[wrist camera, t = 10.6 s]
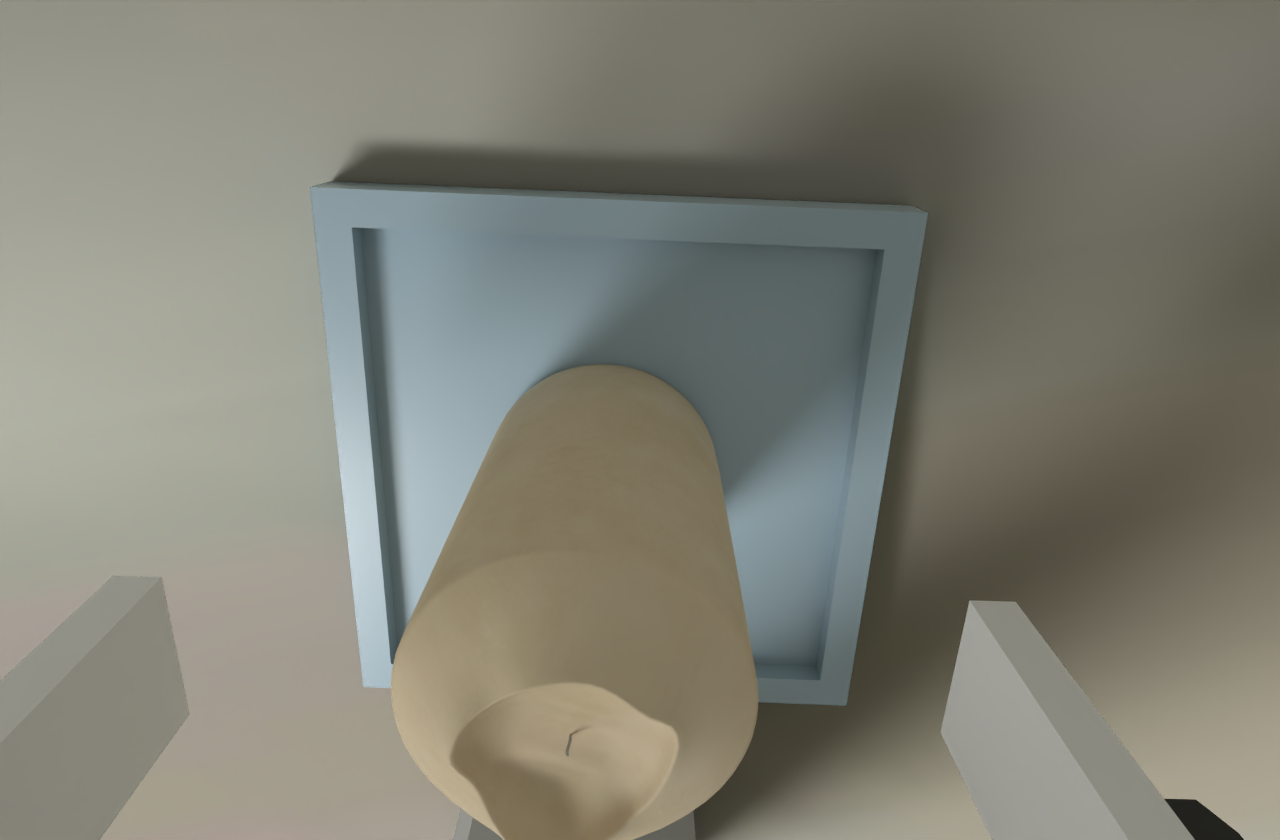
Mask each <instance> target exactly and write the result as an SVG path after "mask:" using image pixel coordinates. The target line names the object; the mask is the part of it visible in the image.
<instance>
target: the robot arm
mask: <svg viewBox="0 0 1280 840" xmlns="http://www.w3.org/2000/svg"><path fill="white" fill-rule="evenodd" d="M188 715H189V709H188V704H187V699H186V694H185V690H184V685H183V680H182V675H181V670H180V665H179V660H178V655H177V650H176V645H175V640H174V636H173V631H172V626H171V621H170V616H169V611H168V606H167V601H166V596H165V591H164V586H163V582H162V577H137V576H113V577H112V578H110V579H109V580H108V581H107V582H106V583H105V584H104V585H103V586H102V587H101V588H100V589H99V590H98V591H97V592H95V593H94V594H93V595H92V596H91V597H90V598H89V599H88V600H87V601H86V602H85V603H84V604H83V605H81V606H80V607H79V608H78V609H77V610H76V611H75V612H74V613H73V614H72V615H71V616H70V617H69V618H68V619H66V620H65V621H64V622H63V623H62V624H61V625H60V626H59V627H58V628H57V629H56V630H55V631H54V632H52V633H51V634H50V635H49V636H48V637H47V638H46V639H45V640H44V641H43V642H42V643H41V644H40V645H39V646H37V647H36V648H35V649H34V650H33V651H32V652H31V653H30V654H29V655H28V656H27V657H26V658H25V659H23V660H22V661H21V662H20V663H19V664H18V665H17V666H16V667H15V668H14V669H13V670H12V671H11V672H9V673H8V674H7V675H6V676H5V677H4V678H3V679H2V680H1V681H0V840H100V839H101V837H102V836H103V834H104V833H105V832H106V830H107V829H108V827H109V826H110V825H111V823H112V822H113V820H114V819H115V818H116V816H117V815H118V813H119V812H120V811H121V809H122V808H123V806H124V805H125V804H126V802H127V801H128V799H129V798H130V797H131V795H132V794H133V792H134V791H135V790H136V788H137V787H138V785H139V784H140V783H141V781H142V780H143V778H144V777H145V775H146V774H147V773H148V771H149V770H150V768H151V767H152V766H153V764H154V763H155V761H156V760H157V759H158V757H159V756H160V754H161V753H162V752H163V750H164V749H165V747H166V746H167V745H168V743H169V742H170V740H171V739H172V738H173V736H174V735H175V733H176V732H177V731H178V729H179V728H180V726H181V725H182V724H183V722H184V721H185V719H186V718H187V717H188ZM940 733H941V735H942V737H943V739H944V741H945V743H946V745H947V747H948V749H949V751H950V754H951V756H952V758H953V760H954V762H955V764H956V766H957V768H958V770H959V772H960V774H961V776H962V778H963V781H964V783H965V785H966V787H967V789H968V791H969V793H970V795H971V797H972V799H973V801H974V803H975V806H976V808H977V810H978V812H979V814H980V816H981V818H982V820H983V822H984V824H985V826H986V828H987V830H988V833H989V835H990V837H991V839H992V840H1244V839H1243V838H1242V837H1241V836H1240V834H1239V833H1238V832H1236V831H1235V830H1234V829H1233V828H1231V827H1230V826H1229V825H1227V824H1226V823H1225V822H1224V821H1222V820H1221V819H1220V818H1219V817H1217V816H1216V815H1215V814H1213V813H1212V812H1211V811H1210V810H1208V809H1207V808H1206V807H1205V806H1203V805H1202V804H1201V803H1199V802H1198V801H1197V800H1188V799H1164V798H1163V797H1162V796H1161V794H1160V793H1159V792H1158V790H1157V789H1156V788H1155V786H1154V785H1153V784H1152V782H1151V781H1150V780H1149V778H1148V777H1147V776H1146V774H1145V773H1144V772H1143V770H1142V769H1141V768H1140V766H1139V765H1138V764H1137V762H1136V761H1135V760H1134V758H1133V757H1132V756H1131V754H1130V753H1129V752H1128V750H1127V749H1126V748H1125V746H1124V745H1123V744H1122V742H1121V741H1120V740H1119V738H1118V737H1117V736H1116V734H1115V733H1114V732H1113V730H1112V729H1111V728H1110V726H1109V725H1108V724H1107V722H1106V721H1105V720H1104V718H1103V717H1102V716H1101V714H1100V713H1099V712H1098V710H1097V709H1096V708H1095V706H1094V705H1093V704H1092V703H1091V701H1090V700H1089V699H1088V697H1087V696H1086V695H1085V693H1084V692H1083V691H1082V689H1081V688H1080V687H1079V685H1078V684H1077V683H1076V681H1075V680H1074V679H1073V677H1072V676H1071V675H1070V673H1069V672H1068V671H1067V669H1066V668H1065V667H1064V665H1063V664H1062V663H1061V661H1060V660H1059V659H1058V657H1057V656H1056V655H1055V653H1054V652H1053V651H1052V649H1051V648H1050V647H1049V645H1048V644H1047V643H1046V641H1045V640H1044V639H1043V637H1042V636H1041V635H1040V633H1039V632H1038V631H1037V629H1036V628H1035V627H1034V625H1033V624H1032V623H1031V621H1030V620H1029V619H1028V617H1027V616H1026V615H1025V613H1024V612H1023V611H1022V609H1021V608H1020V607H1019V606H1018V604H1017V603H1016V602H1008V601H973V600H970V601H969V605H968V610H967V614H966V619H965V623H964V628H963V633H962V637H961V642H960V646H959V651H958V655H957V660H956V664H955V669H954V673H953V678H952V683H951V687H950V692H949V696H948V701H947V705H946V710H945V714H944V719H943V723H942V728H941V732H940Z"/></svg>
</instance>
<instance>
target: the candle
mask: <svg viewBox="0 0 1280 840" xmlns="http://www.w3.org/2000/svg"><path fill="white" fill-rule="evenodd" d="M391 699H392V708H393V713H394V717H395V720H396V724H397V728H398V731H399V733H400V735H401V737H402V740H403V742H404V744H405V746H406V748H407V750H408V751H409V753H410V755H411V756H412V758H413V759H414V761H415V763H416V764H417V765H418V767H419V768H420V769H421V770H422V772H423V773H424V774H425V775H426V776H427V778H428V779H429V780H430V781H431V782H432V783H433V784H434V785H435V786H436V787H437V788H438V789H439V790H440V791H442V792H443V793H444V794H445V795H446V796H447V797H448V798H449V799H450V800H451V801H452V802H454V803H455V804H456V805H457V806H459V807H460V808H461V809H463V810H464V811H465V812H467V813H468V814H469V815H471V816H472V817H473V818H475V819H476V820H478V821H479V822H480V823H482V824H483V825H485V826H486V827H488V828H489V829H491V830H492V831H494V832H495V833H496V834H498V835H499V836H500V837H501V838H502V839H503V840H633V839H636V838H639V837H641V836H644V835H646V834H649V833H651V832H654V831H656V830H659V829H661V828H664V827H665V826H667V825H669V824H671V823H673V822H675V821H677V820H679V819H680V818H682V817H684V816H686V815H687V814H689V813H690V812H692V811H693V810H695V809H696V808H697V807H699V806H700V805H702V804H703V803H705V802H706V801H707V800H708V799H709V798H711V797H712V796H713V795H714V794H715V793H716V792H717V791H718V790H719V789H721V788H722V786H723V785H724V784H725V783H726V782H727V780H728V779H729V778H730V777H731V776H732V775H733V773H734V772H735V770H736V769H737V767H738V766H739V764H740V762H741V761H742V759H743V758H744V756H745V754H746V751H747V749H748V747H749V744H750V742H751V740H752V737H753V733H754V729H755V725H756V721H757V713H758V702H759V699H758V685H757V677H756V671H755V665H754V660H753V654H752V649H751V643H750V637H749V632H748V626H747V621H746V615H745V610H744V604H743V599H742V593H741V588H740V582H739V577H738V571H737V565H736V560H735V554H734V549H733V543H732V538H731V532H730V527H729V521H728V516H727V510H726V505H725V499H724V494H723V488H722V482H721V477H720V471H719V467H718V463H717V458H716V454H715V450H714V445H713V442H712V439H711V437H710V434H709V432H708V429H707V427H706V426H705V424H704V422H703V420H702V419H701V417H700V416H699V414H698V413H697V411H696V410H695V409H694V407H693V406H692V405H691V403H690V402H689V401H688V400H687V399H686V398H685V397H684V396H683V395H682V394H681V393H680V392H678V391H677V390H676V389H675V388H673V387H672V386H671V385H669V384H668V383H666V382H664V381H663V380H661V379H659V378H658V377H656V376H654V375H651V374H649V373H647V372H644V371H642V370H638V369H635V368H631V367H627V366H621V365H614V364H591V365H582V366H578V367H574V368H569V369H566V370H563V371H561V372H558V373H555V374H553V375H551V376H549V377H548V378H546V379H544V380H542V381H540V382H539V383H538V384H536V385H535V386H533V387H532V388H531V389H529V390H528V391H527V392H526V393H525V394H524V395H523V396H522V397H521V398H520V399H519V400H517V401H516V403H515V404H514V405H513V406H512V408H511V409H510V410H509V411H508V413H507V414H506V416H505V418H504V419H503V421H502V423H501V424H500V426H499V428H498V430H497V432H496V434H495V436H494V438H493V440H492V442H491V444H490V446H489V449H488V451H487V453H486V455H485V457H484V459H483V462H482V464H481V466H480V468H479V470H478V472H477V475H476V477H475V479H474V481H473V483H472V485H471V488H470V490H469V492H468V494H467V496H466V499H465V501H464V503H463V505H462V507H461V509H460V512H459V514H458V516H457V518H456V520H455V522H454V525H453V527H452V529H451V531H450V533H449V535H448V538H447V540H446V542H445V544H444V546H443V548H442V551H441V553H440V555H439V557H438V559H437V561H436V564H435V566H434V568H433V570H432V572H431V574H430V577H429V579H428V581H427V583H426V585H425V588H424V590H423V592H422V594H421V596H420V598H419V601H418V603H417V605H416V607H415V609H414V611H413V614H412V616H411V618H410V620H409V622H408V625H407V627H406V629H405V631H404V634H403V636H402V639H401V641H400V644H399V646H398V649H397V651H396V654H395V659H394V664H393V668H392V675H391Z"/></svg>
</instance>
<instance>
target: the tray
mask: <svg viewBox="0 0 1280 840" xmlns="http://www.w3.org/2000/svg"><path fill="white" fill-rule="evenodd" d="M310 192H311V201H312V210H313V220H314V229H315V239H316V248H317V257H318V267H319V276H320V285H321V295H322V304H323V314H324V323H325V332H326V342H327V351H328V360H329V370H330V379H331V389H332V398H333V407H334V417H335V426H336V435H337V445H338V454H339V464H340V473H341V482H342V492H343V501H344V511H345V520H346V529H347V539H348V548H349V557H350V567H351V576H352V586H353V595H354V604H355V614H356V623H357V632H358V642H359V651H360V661H361V670H362V679H363V687H376V688H391V675H392V668H393V664H394V659H395V654H396V651H397V649H398V646H399V644H400V641H401V639H402V636H403V634H404V631H405V629H406V627H407V625H408V622H409V620H410V618H411V616H412V614H413V611H414V609H415V607H416V605H417V603H418V601H419V598H420V596H421V594H422V592H423V590H424V588H425V585H426V583H427V581H428V579H429V577H430V574H431V572H432V570H433V568H434V566H435V564H436V561H437V559H438V557H439V555H440V553H441V551H442V548H443V546H444V544H445V542H446V540H447V538H448V535H449V533H450V531H451V529H452V527H453V525H454V522H455V520H456V518H457V516H458V514H459V512H460V509H461V507H462V505H463V503H464V501H465V499H466V496H467V494H468V492H469V490H470V488H471V485H472V483H473V481H474V479H475V477H476V475H477V472H478V470H479V468H480V466H481V464H482V462H483V459H484V457H485V455H486V453H487V451H488V449H489V446H490V444H491V442H492V440H493V438H494V436H495V434H496V432H497V430H498V428H499V426H500V424H501V423H502V421H503V419H504V418H505V416H506V414H507V413H508V411H509V410H510V409H511V408H512V406H513V405H514V404H515V403H516V401H517V400H519V399H520V398H521V397H522V396H523V395H524V394H525V393H526V392H527V391H528V390H529V389H531V388H532V387H533V386H535V385H536V384H538V383H539V382H540V381H542V380H544V379H546V378H548V377H549V376H551V375H553V374H555V373H558V372H561V371H563V370H566V369H569V368H574V367H578V366H582V365H591V364H614V365H621V366H627V367H631V368H635V369H638V370H642V371H644V372H647V373H649V374H651V375H654V376H656V377H658V378H659V379H661V380H663V381H664V382H666V383H668V384H669V385H671V386H672V387H673V388H675V389H676V390H677V391H678V392H680V393H681V394H682V395H683V396H684V397H685V398H686V399H687V400H688V401H689V402H690V403H691V405H692V406H693V407H694V409H695V410H696V411H697V413H698V414H699V416H700V417H701V419H702V420H703V422H704V424H705V426H706V427H707V429H708V432H709V434H710V437H711V439H712V442H713V445H714V450H715V454H716V458H717V463H718V467H719V471H720V477H721V482H722V488H723V494H724V499H725V505H726V510H727V516H728V521H729V527H730V532H731V538H732V543H733V549H734V554H735V560H736V565H737V571H738V577H739V582H740V588H741V593H742V599H743V604H744V610H745V615H746V621H747V626H748V632H749V637H750V643H751V649H752V654H753V660H754V665H755V671H756V677H757V685H758V699H759V702H763V703H789V704H815V705H841V706H846V705H847V699H848V693H849V687H850V681H851V675H852V669H853V663H854V657H855V651H856V645H857V639H858V633H859V627H860V621H861V615H862V609H863V603H864V597H865V591H866V585H867V579H868V573H869V567H870V561H871V555H872V549H873V543H874V537H875V531H876V525H877V519H878V513H879V507H880V501H881V495H882V489H883V483H884V477H885V471H886V465H887V459H888V453H889V446H890V440H891V434H892V428H893V422H894V416H895V410H896V404H897V398H898V392H899V386H900V380H901V374H902V368H903V362H904V356H905V350H906V344H907V338H908V332H909V326H910V320H911V314H912V308H913V302H914V296H915V290H916V284H917V278H918V272H919V266H920V260H921V254H922V248H923V242H924V236H925V230H926V224H927V218H928V213H927V212H925V211H923V210H921V209H918V208H916V207H914V206H912V205H888V204H864V203H840V202H816V201H792V200H768V199H744V198H720V197H696V196H672V195H648V194H624V193H600V192H576V191H552V190H528V189H504V188H480V187H456V186H432V185H408V184H384V183H360V182H336V181H330V182H326V183H323V184H319V185H316V186H312V187H310Z"/></svg>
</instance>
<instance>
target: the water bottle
mask: <svg viewBox="0 0 1280 840" xmlns="http://www.w3.org/2000/svg"><path fill="white" fill-rule="evenodd" d="M453 840H503V839H502V838H501V837H500V836H499V835H498V834H496V833H495V832H494V831H492V830H491V829H489V828H488V827H486V826H485V825H483V824H482V823H480V822H479V821H478V820H476V819H475V818H473V817H472V816H471V815H469V814H468V813H467V812H465V811H464V810H463V809H461V811H460V814H459V818H458V822H457V826H456V830H455V833H454V837H453ZM633 840H695V824H694V810H693V811H692V812H690V813H689V814H687V815H686V816H684V817H682V818H680V819H679V820H677V821H675V822H673V823H671V824H669V825H667V826H665V827H664V828H661V829H659V830H656V831H654V832H651V833H649V834H646V835H644V836H641V837H639V838H636V839H633Z"/></svg>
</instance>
